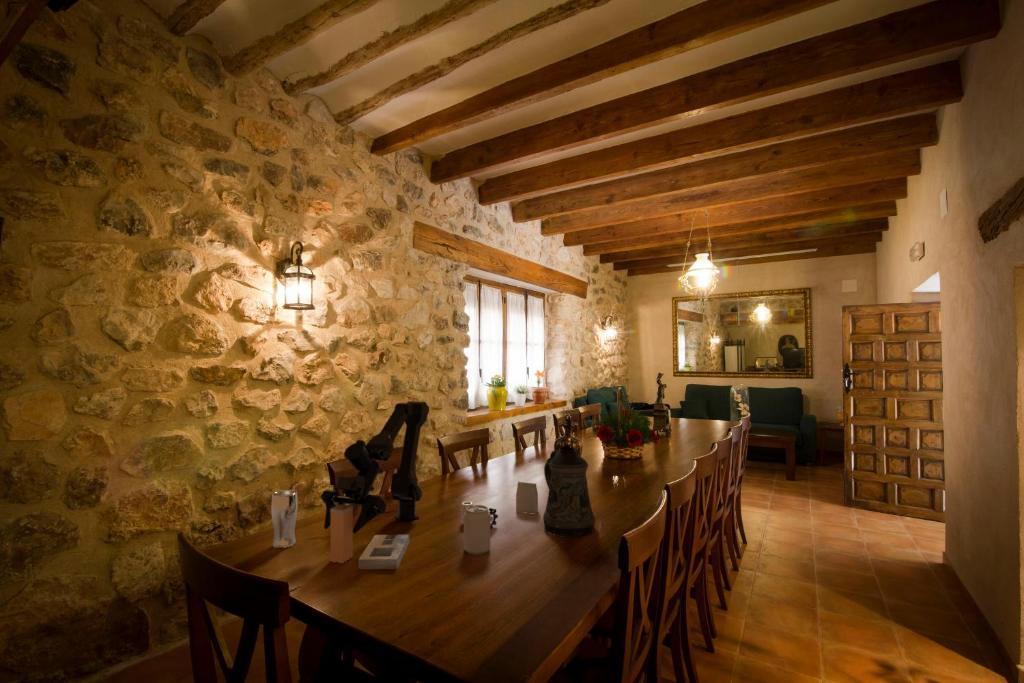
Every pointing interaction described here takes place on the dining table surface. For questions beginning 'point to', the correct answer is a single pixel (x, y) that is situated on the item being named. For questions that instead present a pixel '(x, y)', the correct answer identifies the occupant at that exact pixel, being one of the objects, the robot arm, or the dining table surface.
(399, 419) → the robot arm
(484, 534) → the can
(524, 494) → the tea bag
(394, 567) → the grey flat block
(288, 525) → the beer glass
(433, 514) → the dining table surface
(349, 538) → the square peg
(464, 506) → the valve
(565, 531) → the beer stein
